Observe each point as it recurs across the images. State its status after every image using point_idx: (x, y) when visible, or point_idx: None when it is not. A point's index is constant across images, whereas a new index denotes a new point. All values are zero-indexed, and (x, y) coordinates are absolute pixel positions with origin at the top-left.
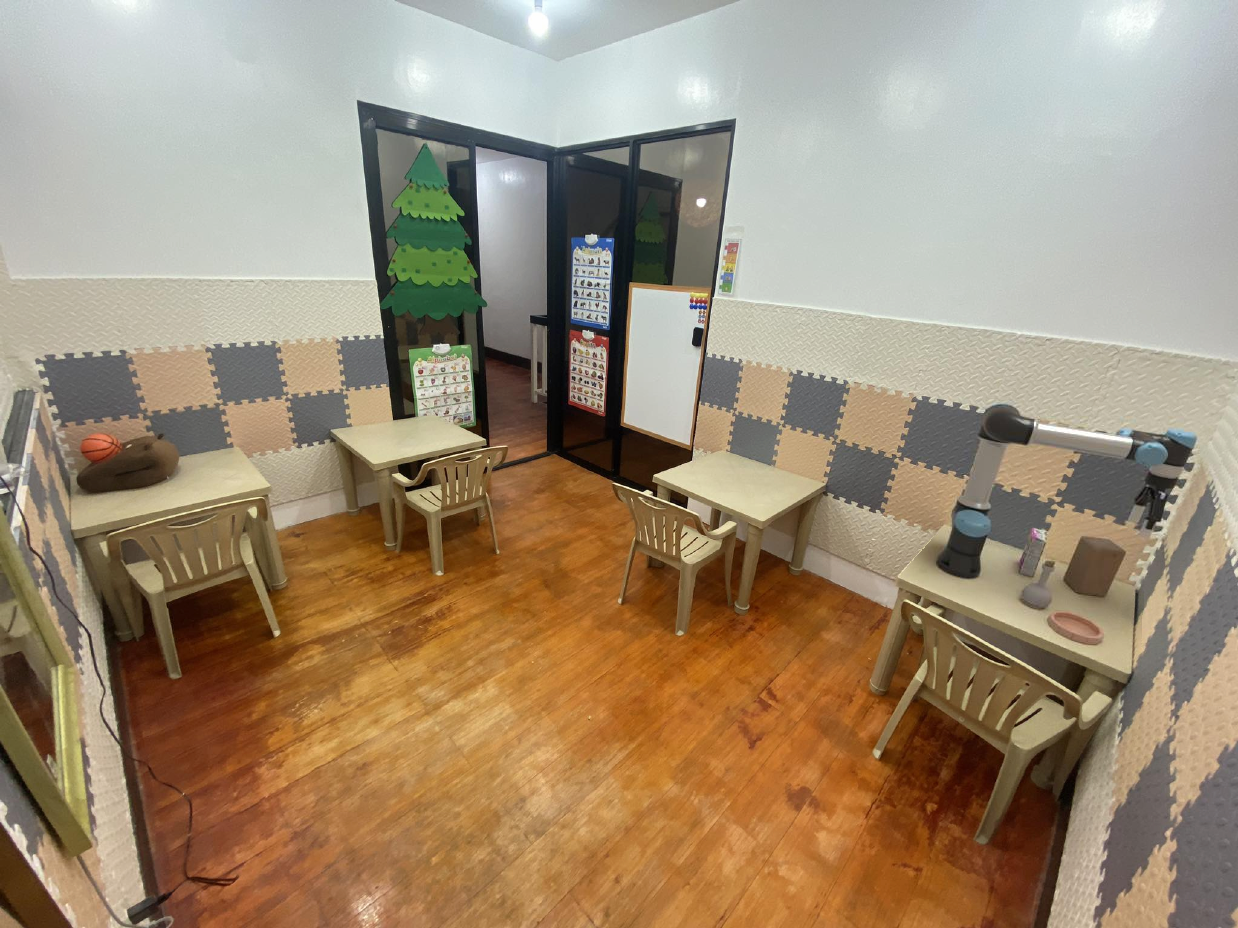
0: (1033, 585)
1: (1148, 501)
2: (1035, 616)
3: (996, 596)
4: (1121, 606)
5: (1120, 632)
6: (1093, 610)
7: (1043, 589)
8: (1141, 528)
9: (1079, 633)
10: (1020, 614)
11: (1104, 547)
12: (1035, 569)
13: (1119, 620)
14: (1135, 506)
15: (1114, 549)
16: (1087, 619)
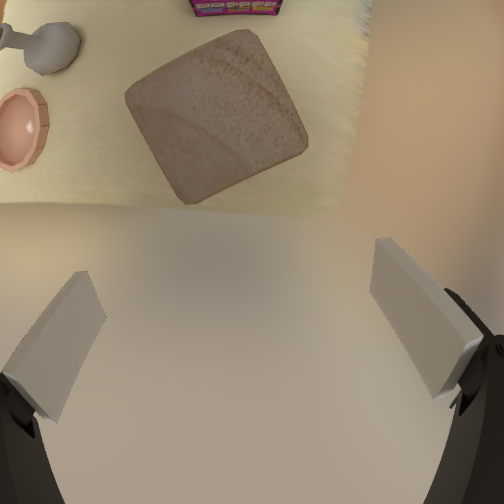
0: (34, 34)
1: (433, 481)
2: (22, 72)
3: (51, 6)
4: None
5: (66, 192)
6: (114, 143)
7: (27, 54)
8: (56, 305)
9: (9, 138)
10: (16, 55)
11: (146, 118)
12: (192, 6)
13: (111, 190)
14: (456, 336)
15: (162, 159)
16: (35, 140)
